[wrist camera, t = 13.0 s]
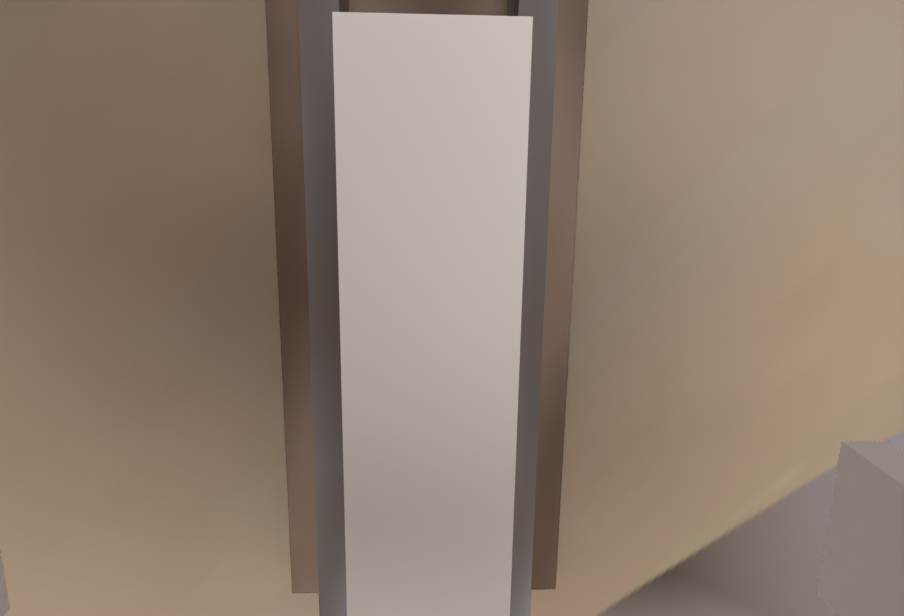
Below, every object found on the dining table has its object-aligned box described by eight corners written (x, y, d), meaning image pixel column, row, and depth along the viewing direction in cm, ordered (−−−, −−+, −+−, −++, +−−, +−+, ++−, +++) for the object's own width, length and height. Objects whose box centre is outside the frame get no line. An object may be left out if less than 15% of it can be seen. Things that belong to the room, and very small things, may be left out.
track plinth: (296, 578, 29) (277, 644, 25) (270, -31, 24) (240, -66, 20) (551, 574, 29) (570, 639, 26) (583, -22, 24) (614, -56, 20)
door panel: (387, 505, 27) (353, 860, 14) (383, 91, 24) (332, 11, 10) (476, 504, 27) (529, 854, 14) (486, 92, 24) (572, 17, 10)
